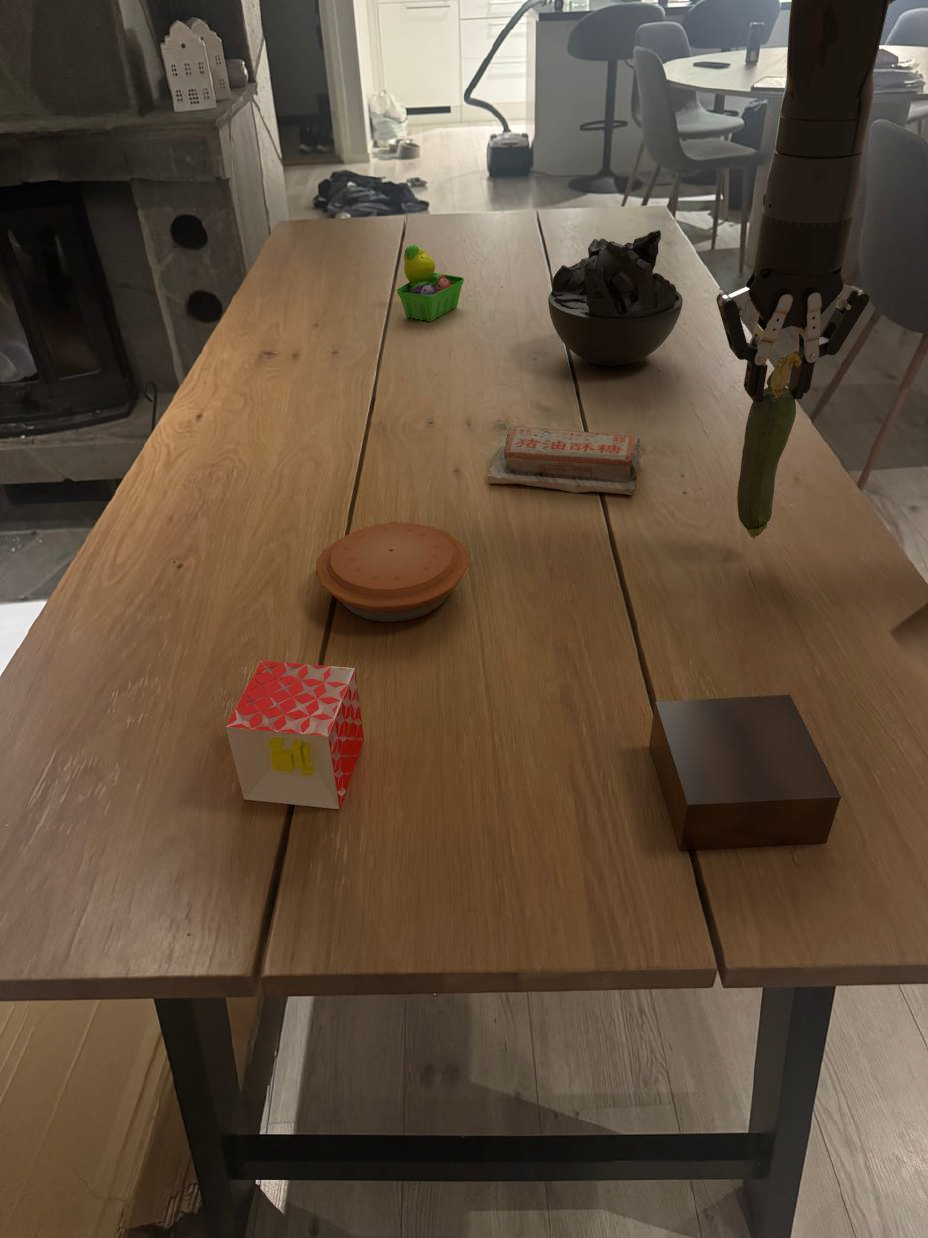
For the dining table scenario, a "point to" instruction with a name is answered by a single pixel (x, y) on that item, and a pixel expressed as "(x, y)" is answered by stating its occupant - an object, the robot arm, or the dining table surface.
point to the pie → (392, 570)
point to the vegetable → (765, 447)
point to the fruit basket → (427, 287)
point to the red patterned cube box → (297, 734)
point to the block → (741, 773)
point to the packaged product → (567, 460)
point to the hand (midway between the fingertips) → (775, 396)
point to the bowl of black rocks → (614, 302)
